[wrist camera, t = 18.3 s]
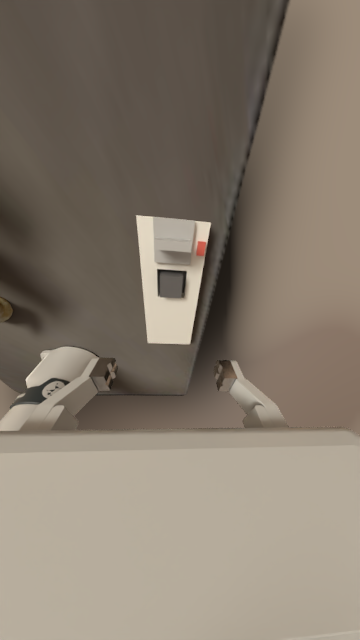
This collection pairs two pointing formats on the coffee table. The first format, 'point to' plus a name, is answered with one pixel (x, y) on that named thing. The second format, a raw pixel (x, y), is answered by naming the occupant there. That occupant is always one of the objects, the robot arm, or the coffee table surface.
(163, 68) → the coffee table surface
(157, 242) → the grey lid with handle
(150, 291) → the socket plate
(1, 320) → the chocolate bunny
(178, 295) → the dark grey cube
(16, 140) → the coffee table surface
